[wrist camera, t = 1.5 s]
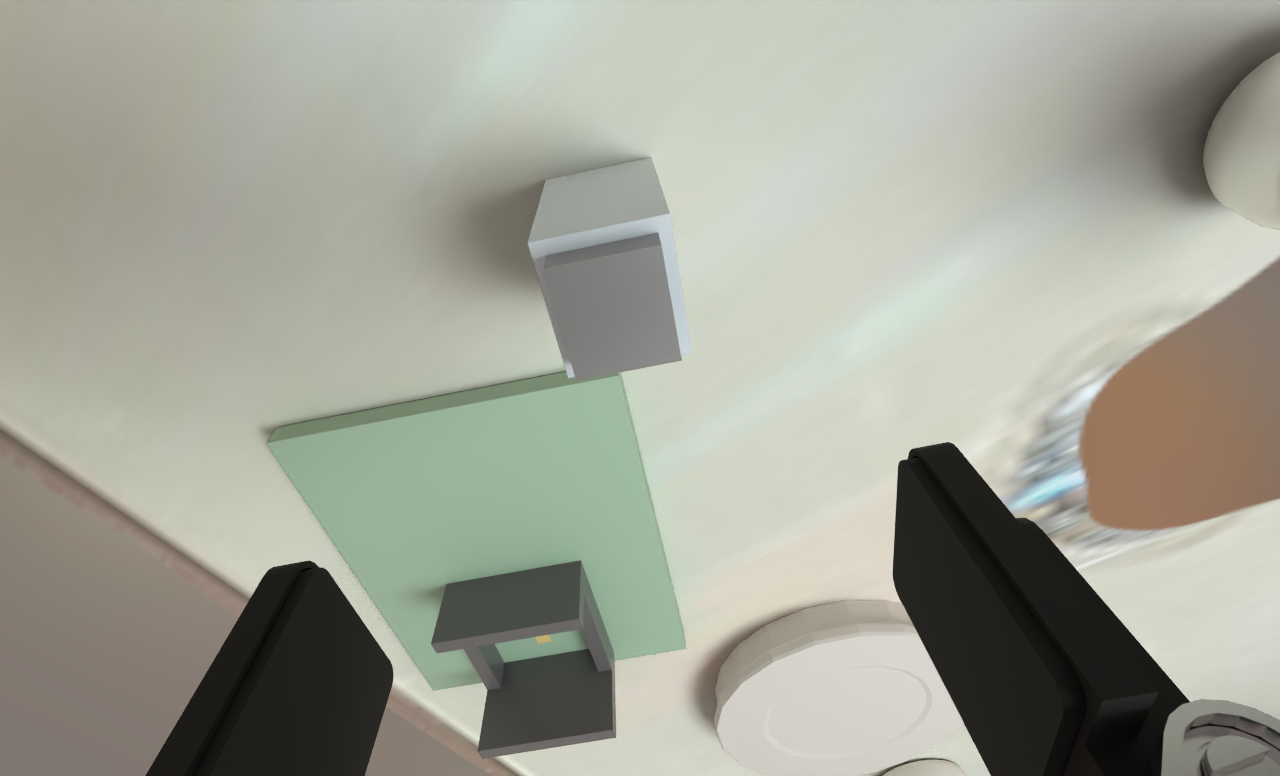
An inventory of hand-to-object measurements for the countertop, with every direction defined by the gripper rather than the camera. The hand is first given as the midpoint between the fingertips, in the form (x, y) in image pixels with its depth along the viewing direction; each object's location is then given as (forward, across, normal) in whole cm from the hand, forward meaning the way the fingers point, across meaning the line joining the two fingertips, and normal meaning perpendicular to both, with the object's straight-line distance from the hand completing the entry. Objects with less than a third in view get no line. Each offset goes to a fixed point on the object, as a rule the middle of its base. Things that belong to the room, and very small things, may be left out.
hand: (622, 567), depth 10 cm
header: (+16, +9, +20) cm, 27 cm away
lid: (+18, -9, +34) cm, 40 cm away
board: (+17, +9, +15) cm, 24 cm away
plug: (+17, 0, -1) cm, 17 cm away
